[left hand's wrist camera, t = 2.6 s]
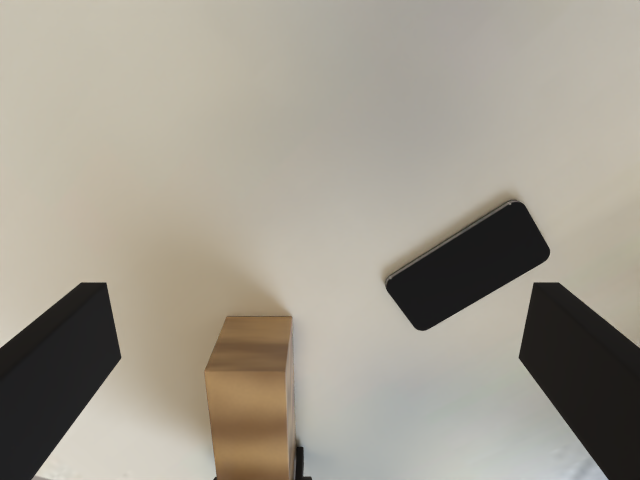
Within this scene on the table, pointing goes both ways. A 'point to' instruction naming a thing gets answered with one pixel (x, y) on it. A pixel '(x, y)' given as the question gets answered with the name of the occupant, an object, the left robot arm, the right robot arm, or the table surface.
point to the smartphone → (468, 266)
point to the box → (253, 399)
